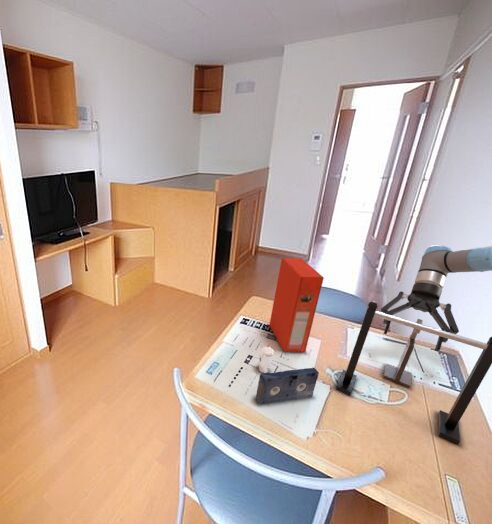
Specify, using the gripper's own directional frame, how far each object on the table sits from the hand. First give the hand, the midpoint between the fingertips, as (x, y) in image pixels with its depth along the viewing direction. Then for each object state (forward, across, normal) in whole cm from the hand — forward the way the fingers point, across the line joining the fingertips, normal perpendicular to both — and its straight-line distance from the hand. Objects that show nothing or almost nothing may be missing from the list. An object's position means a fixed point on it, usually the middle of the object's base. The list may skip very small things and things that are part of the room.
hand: (410, 341), depth 102 cm
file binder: (+15, +36, -4) cm, 39 cm away
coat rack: (+23, 0, +5) cm, 23 cm away
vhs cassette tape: (+37, +26, +19) cm, 49 cm away
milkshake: (+31, +36, +13) cm, 49 cm away
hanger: (+12, 0, -7) cm, 13 cm away
